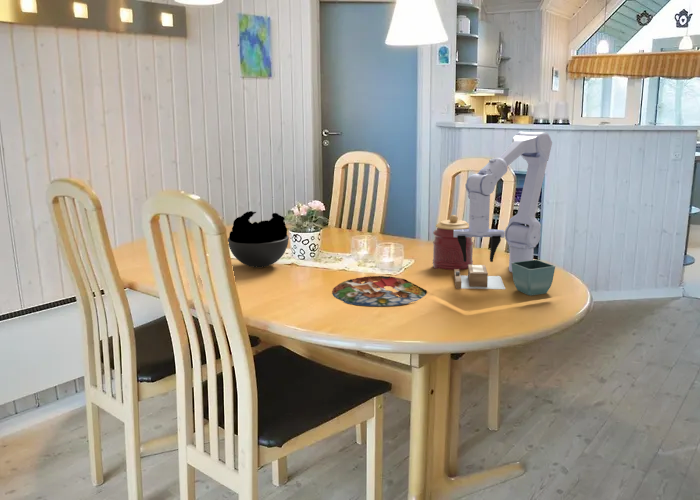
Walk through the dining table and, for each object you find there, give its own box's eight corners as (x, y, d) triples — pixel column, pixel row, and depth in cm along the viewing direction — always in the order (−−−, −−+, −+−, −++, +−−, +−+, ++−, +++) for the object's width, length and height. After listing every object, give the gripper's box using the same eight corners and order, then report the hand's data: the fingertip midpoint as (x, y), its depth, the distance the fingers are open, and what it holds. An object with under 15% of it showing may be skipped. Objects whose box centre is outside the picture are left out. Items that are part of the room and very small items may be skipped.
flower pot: (509, 292, 187) (510, 262, 185) (535, 289, 190) (536, 259, 188) (527, 301, 179) (529, 269, 177) (554, 297, 182) (556, 266, 180)
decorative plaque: (409, 268, 207) (448, 292, 179) (409, 276, 208) (448, 301, 180) (317, 277, 200) (342, 304, 171) (317, 286, 200) (343, 314, 172)
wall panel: (454, 278, 202) (454, 265, 201) (500, 279, 200) (500, 266, 199) (455, 291, 188) (456, 278, 187) (505, 292, 187) (506, 279, 186)
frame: (467, 277, 199) (468, 264, 198) (484, 277, 198) (485, 264, 198) (469, 286, 189) (470, 272, 188) (487, 286, 189) (487, 273, 188)
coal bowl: (218, 266, 220) (214, 211, 215) (267, 256, 233) (265, 204, 228) (250, 278, 205) (248, 219, 201) (301, 266, 218) (299, 211, 214)
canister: (460, 275, 205) (462, 219, 201) (425, 269, 213) (425, 215, 209) (479, 266, 216) (481, 213, 212) (444, 261, 223) (445, 210, 219)
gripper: (454, 218, 186) (453, 264, 190) (506, 218, 185) (504, 264, 188) (453, 213, 193) (452, 258, 196) (503, 213, 192) (502, 258, 195)
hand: (478, 261), depth 193 cm, fingers open, 7 cm apart
